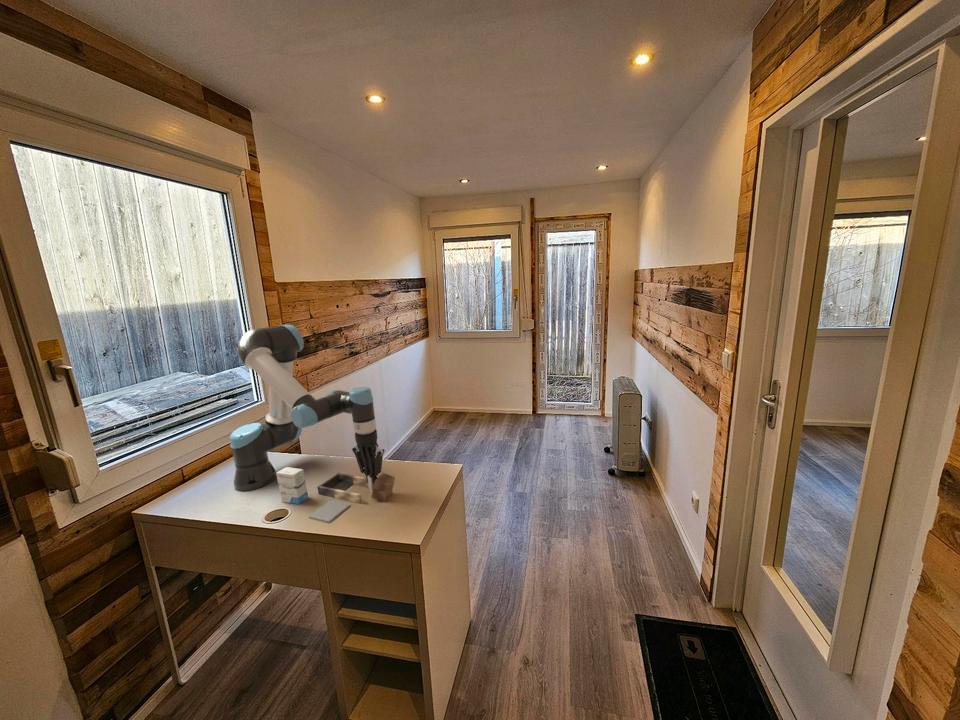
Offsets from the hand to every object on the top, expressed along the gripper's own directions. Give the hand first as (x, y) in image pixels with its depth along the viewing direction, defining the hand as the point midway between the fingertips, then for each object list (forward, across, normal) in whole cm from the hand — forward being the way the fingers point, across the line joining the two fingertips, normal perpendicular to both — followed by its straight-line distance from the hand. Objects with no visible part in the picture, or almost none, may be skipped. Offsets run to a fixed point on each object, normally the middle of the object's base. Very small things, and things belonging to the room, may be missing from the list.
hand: (373, 490), depth 138 cm
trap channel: (+2, -12, 0) cm, 12 cm away
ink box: (+3, -28, -11) cm, 30 cm away
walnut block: (+2, +3, 0) cm, 4 cm away
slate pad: (+2, -9, -13) cm, 16 cm away
